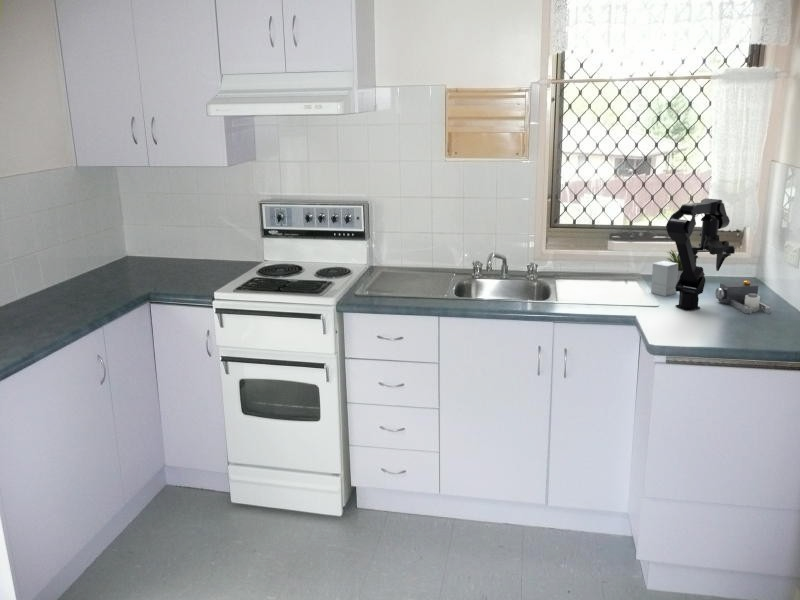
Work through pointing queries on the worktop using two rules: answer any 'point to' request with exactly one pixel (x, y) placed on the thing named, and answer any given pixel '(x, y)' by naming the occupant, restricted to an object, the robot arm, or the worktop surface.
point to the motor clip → (738, 295)
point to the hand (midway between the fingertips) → (705, 271)
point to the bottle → (752, 301)
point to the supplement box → (664, 278)
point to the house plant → (676, 260)
